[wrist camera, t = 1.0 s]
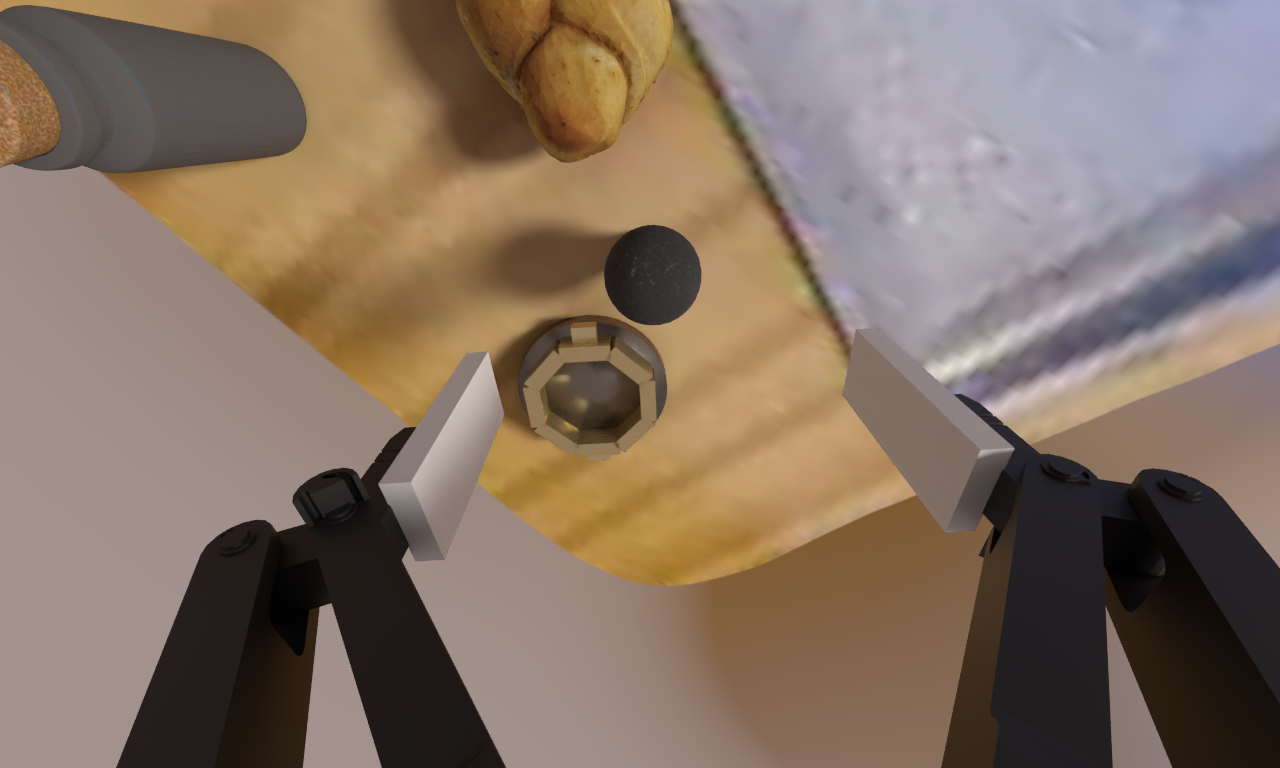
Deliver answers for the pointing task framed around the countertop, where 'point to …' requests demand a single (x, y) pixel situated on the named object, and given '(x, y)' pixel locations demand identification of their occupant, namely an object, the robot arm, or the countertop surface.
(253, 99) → the bottle
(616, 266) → the light bulb
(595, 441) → the octagonal rimmed dish
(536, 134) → the bread roll
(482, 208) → the countertop surface
